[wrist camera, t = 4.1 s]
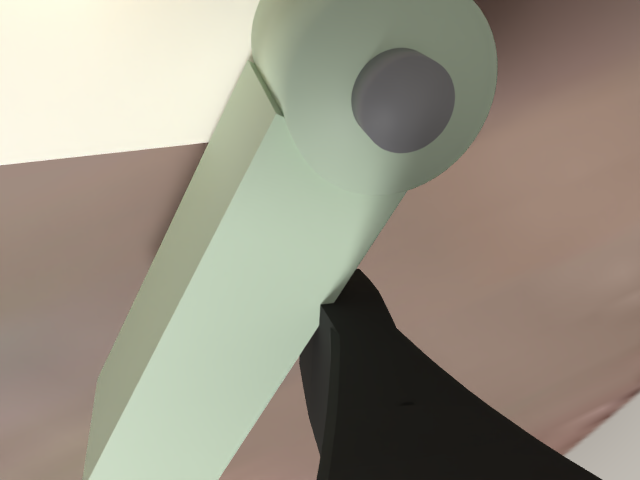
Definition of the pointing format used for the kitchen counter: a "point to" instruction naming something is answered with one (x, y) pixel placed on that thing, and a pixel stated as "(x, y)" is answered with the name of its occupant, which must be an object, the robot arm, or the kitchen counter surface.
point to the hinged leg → (284, 218)
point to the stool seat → (116, 73)
